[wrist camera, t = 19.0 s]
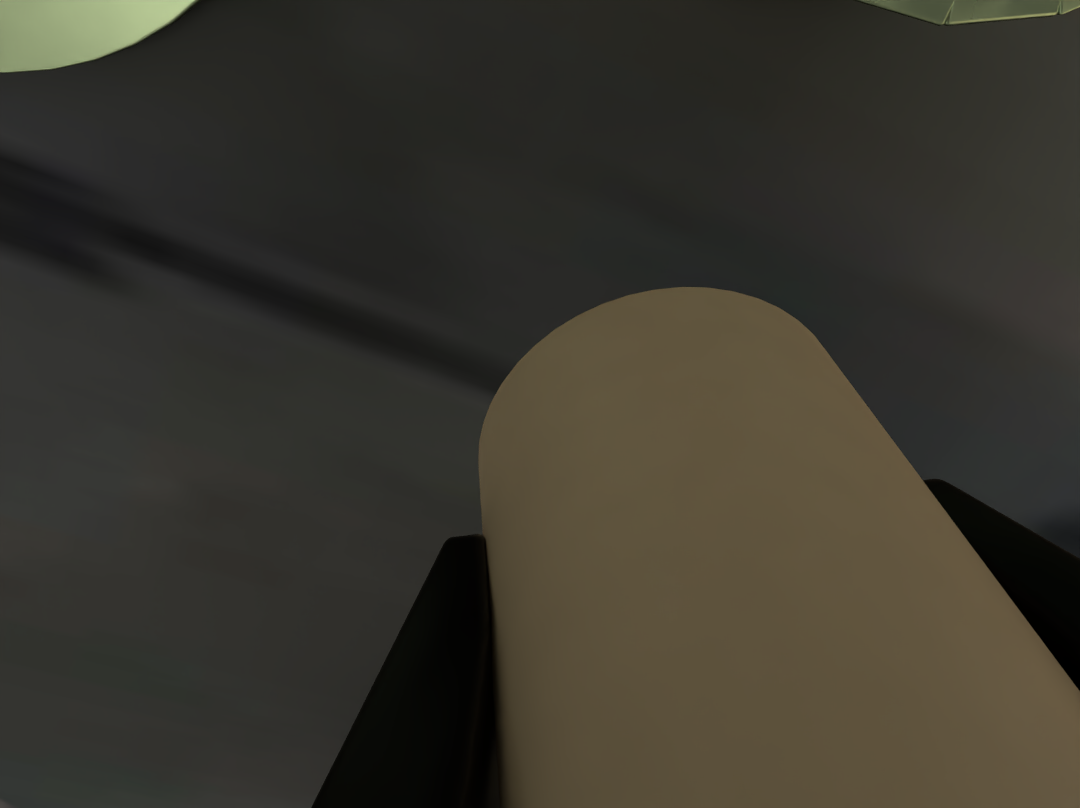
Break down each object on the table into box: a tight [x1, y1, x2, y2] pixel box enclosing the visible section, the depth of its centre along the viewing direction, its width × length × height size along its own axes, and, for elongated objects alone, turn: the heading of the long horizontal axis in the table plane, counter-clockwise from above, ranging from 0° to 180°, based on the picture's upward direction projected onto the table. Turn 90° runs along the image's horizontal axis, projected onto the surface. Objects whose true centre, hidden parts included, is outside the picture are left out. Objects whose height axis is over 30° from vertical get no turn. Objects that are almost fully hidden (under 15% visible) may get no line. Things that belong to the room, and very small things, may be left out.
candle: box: [478, 287, 1080, 808], centre depth 7 cm, size 5×5×7 cm
